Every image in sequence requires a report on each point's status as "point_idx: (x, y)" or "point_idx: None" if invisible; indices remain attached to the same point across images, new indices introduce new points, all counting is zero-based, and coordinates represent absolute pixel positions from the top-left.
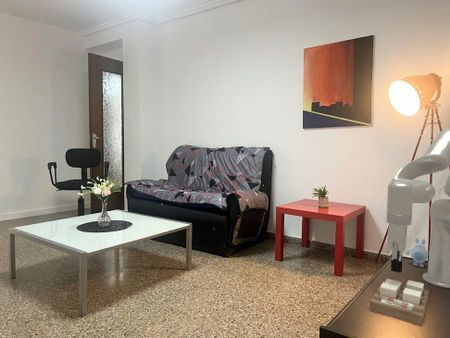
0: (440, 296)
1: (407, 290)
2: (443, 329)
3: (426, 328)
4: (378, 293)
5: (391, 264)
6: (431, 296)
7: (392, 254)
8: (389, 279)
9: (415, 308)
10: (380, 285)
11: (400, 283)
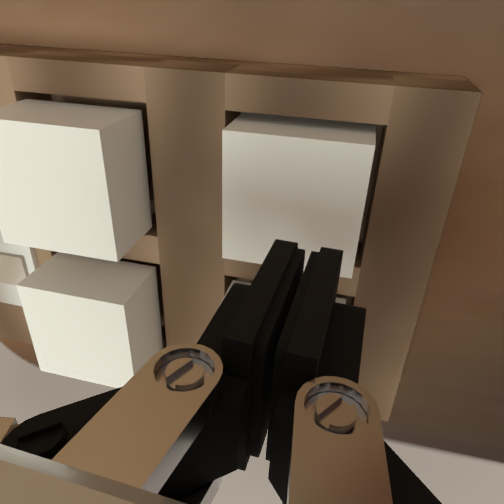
0: (465, 437)
1: (84, 316)
2: None
3: None
4: (37, 87)
5: (254, 287)
6: (435, 395)
7: (69, 453)
8: (363, 172)
9: (17, 311)
10: (235, 81)
11: None
